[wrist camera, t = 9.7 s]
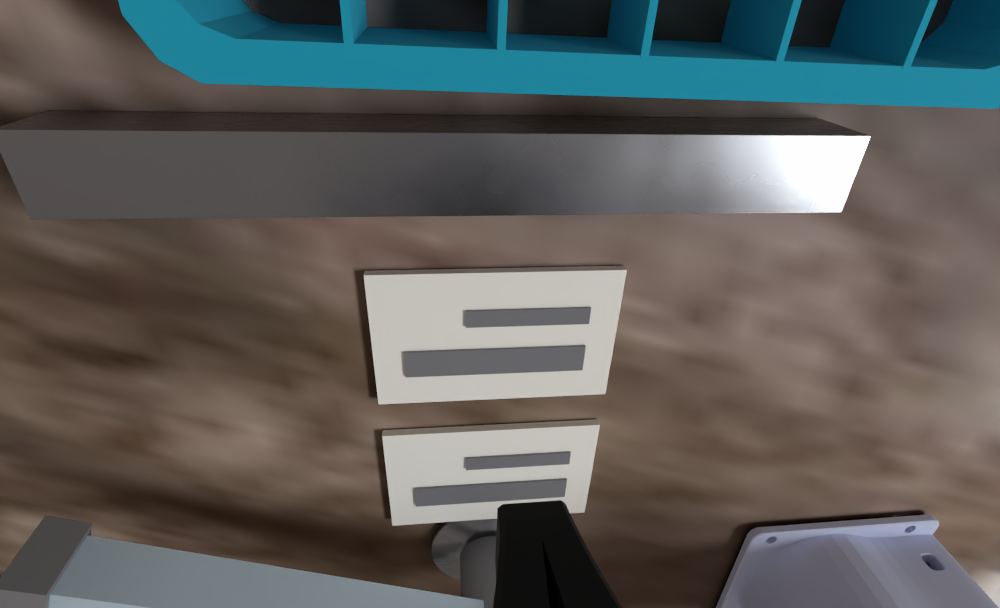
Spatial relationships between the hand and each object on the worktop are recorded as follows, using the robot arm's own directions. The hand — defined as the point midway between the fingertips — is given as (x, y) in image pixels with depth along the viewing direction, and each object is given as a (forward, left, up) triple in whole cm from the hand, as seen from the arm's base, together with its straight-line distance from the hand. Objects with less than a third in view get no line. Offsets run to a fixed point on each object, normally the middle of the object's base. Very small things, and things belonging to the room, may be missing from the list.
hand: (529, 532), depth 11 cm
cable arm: (+6, +8, -7) cm, 12 cm away
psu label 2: (0, +7, -7) cm, 10 cm away
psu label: (0, 0, -7) cm, 7 cm away
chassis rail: (+1, -6, -7) cm, 10 cm away
